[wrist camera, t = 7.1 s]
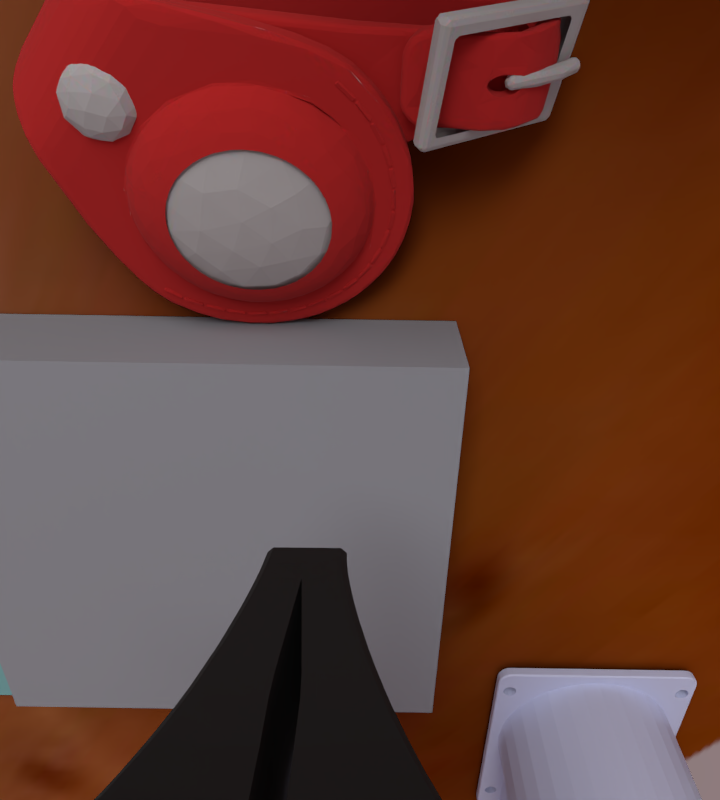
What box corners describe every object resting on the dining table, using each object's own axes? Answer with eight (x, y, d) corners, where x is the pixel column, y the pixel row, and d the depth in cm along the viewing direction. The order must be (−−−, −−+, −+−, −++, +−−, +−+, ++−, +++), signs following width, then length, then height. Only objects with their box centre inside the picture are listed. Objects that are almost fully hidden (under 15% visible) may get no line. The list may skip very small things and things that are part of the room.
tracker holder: (291, 397, 20) (-68, 213, 15) (296, 299, 23) (-4, 116, 18) (658, 89, 13) (228, -442, 8) (601, 4, 16) (256, -430, 11)
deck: (425, 644, 27) (432, 712, 24) (50, 638, 27) (16, 706, 24) (456, 321, 20) (469, 368, 17) (-54, 313, 20) (-117, 358, 17)
